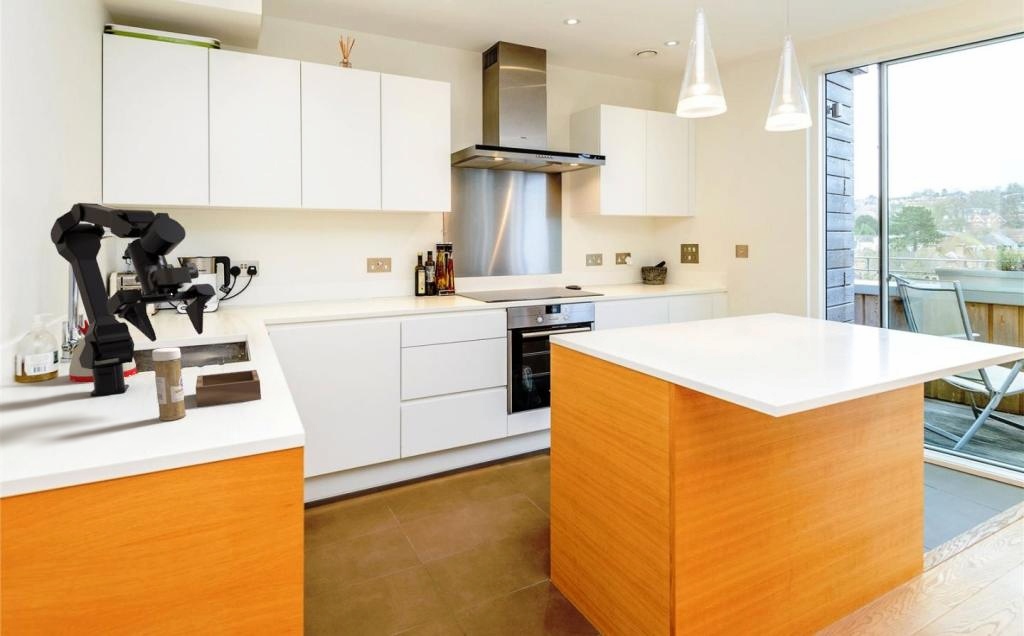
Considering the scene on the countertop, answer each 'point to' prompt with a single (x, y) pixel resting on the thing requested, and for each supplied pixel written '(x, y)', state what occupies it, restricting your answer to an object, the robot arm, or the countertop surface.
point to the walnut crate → (227, 388)
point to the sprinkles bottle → (169, 383)
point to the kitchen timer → (86, 374)
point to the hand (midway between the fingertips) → (178, 337)
